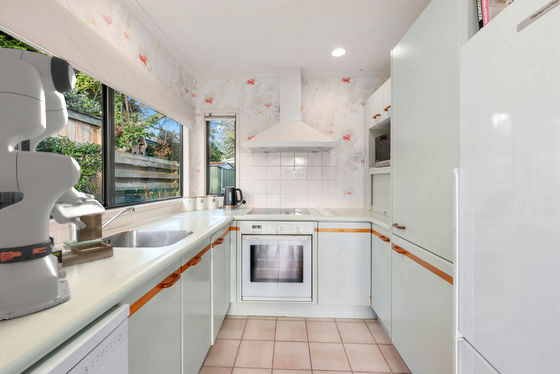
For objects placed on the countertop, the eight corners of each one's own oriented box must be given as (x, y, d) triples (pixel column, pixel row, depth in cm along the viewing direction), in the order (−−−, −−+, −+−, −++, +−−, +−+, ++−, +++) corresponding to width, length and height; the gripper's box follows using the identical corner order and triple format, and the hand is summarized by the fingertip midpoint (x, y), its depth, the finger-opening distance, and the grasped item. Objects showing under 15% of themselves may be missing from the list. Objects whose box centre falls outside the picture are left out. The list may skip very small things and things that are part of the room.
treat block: (92, 240, 100) (91, 215, 100) (80, 240, 101) (79, 215, 100) (102, 237, 105) (101, 213, 105) (91, 237, 106) (90, 213, 105)
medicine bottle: (39, 275, 84) (38, 239, 83) (24, 273, 85) (23, 238, 85) (62, 268, 90) (62, 235, 90) (47, 266, 92) (46, 234, 92)
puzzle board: (113, 255, 104) (113, 246, 104) (56, 268, 89) (55, 256, 89) (102, 250, 111) (102, 241, 111) (47, 261, 97) (47, 251, 96)
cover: (102, 241, 110) (102, 228, 110) (71, 247, 102) (70, 233, 101) (93, 238, 117) (93, 226, 117) (63, 243, 108) (63, 230, 108)
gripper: (49, 198, 93) (74, 225, 92) (95, 194, 113) (116, 216, 112) (38, 210, 93) (63, 237, 93) (86, 204, 114) (107, 226, 113)
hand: (92, 225), depth 103 cm, fingers closed on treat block, 5 cm apart
